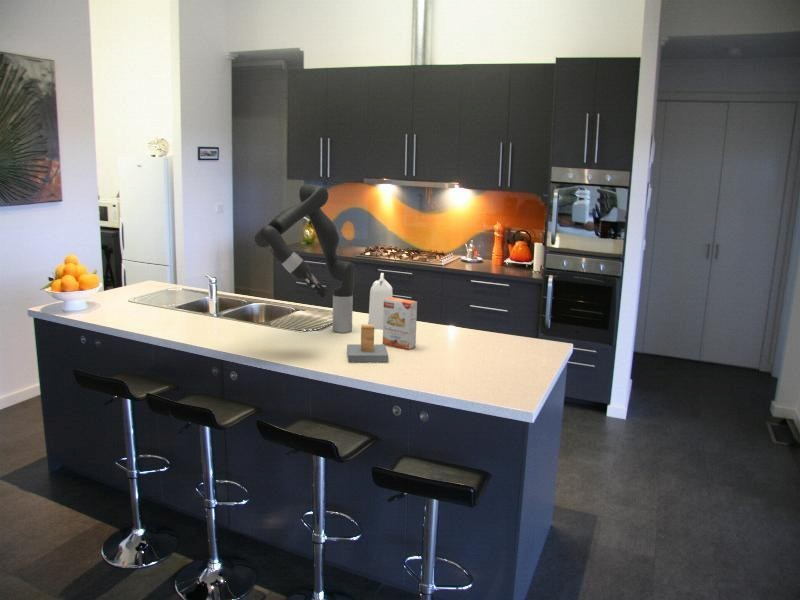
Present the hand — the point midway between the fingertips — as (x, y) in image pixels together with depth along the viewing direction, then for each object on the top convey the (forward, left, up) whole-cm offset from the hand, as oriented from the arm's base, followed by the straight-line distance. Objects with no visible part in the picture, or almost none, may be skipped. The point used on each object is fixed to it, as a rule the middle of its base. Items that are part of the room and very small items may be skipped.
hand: (324, 293), depth 274 cm
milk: (-47, +28, -26) cm, 61 cm away
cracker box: (-12, +33, -26) cm, 44 cm away
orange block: (+4, +18, -23) cm, 29 cm away
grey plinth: (+4, +18, -26) cm, 31 cm away
